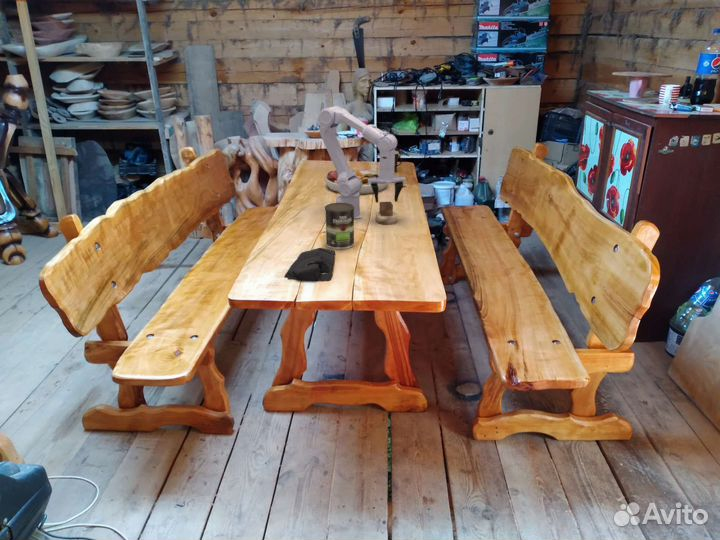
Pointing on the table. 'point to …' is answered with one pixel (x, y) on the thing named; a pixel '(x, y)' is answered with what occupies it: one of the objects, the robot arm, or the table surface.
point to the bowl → (361, 174)
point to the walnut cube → (386, 209)
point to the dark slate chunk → (312, 266)
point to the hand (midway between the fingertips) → (386, 201)
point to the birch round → (386, 219)
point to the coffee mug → (396, 160)
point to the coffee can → (339, 225)
